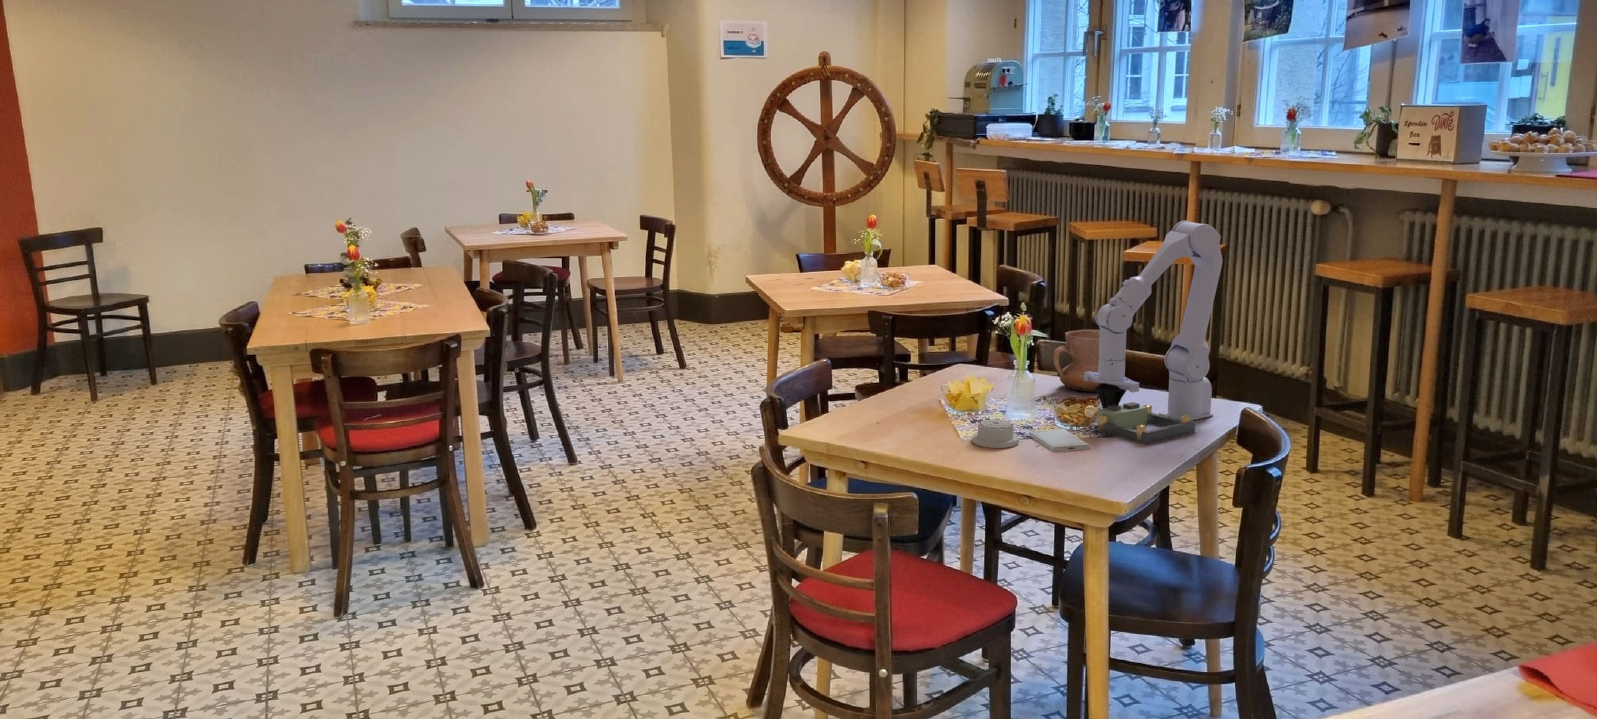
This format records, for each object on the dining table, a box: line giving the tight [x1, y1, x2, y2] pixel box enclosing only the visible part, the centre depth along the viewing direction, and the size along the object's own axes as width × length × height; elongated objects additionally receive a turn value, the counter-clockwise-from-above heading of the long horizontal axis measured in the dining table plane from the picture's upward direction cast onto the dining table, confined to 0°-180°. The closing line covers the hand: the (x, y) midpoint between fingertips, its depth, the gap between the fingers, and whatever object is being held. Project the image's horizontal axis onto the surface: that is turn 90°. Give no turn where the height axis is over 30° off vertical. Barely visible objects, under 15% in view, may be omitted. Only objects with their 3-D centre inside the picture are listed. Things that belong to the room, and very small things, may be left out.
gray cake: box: [971, 418, 1020, 449], centre depth 247 cm, size 10×4×10 cm
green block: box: [1097, 401, 1148, 429], centre depth 257 cm, size 10×5×5 cm, turn 122°
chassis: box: [1098, 404, 1196, 446], centre depth 252 cm, size 16×14×4 cm
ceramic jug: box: [1052, 329, 1100, 393], centre depth 291 cm, size 18×14×14 cm
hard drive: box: [1029, 428, 1091, 453], centre depth 246 cm, size 2×8×12 cm
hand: (1109, 417), depth 261 cm, fingers closed
